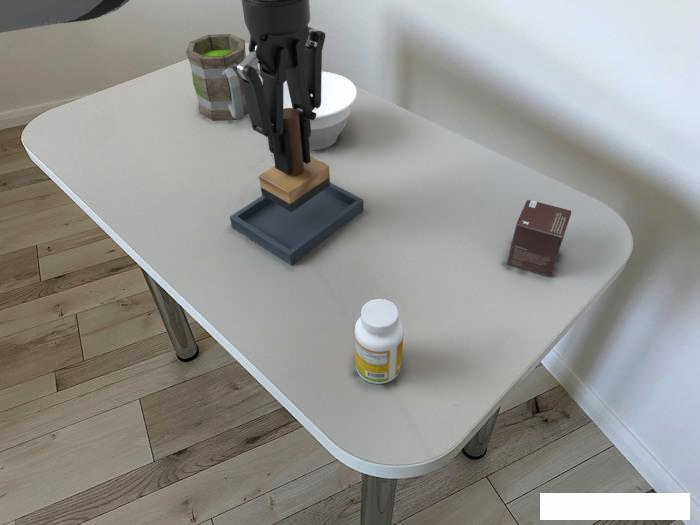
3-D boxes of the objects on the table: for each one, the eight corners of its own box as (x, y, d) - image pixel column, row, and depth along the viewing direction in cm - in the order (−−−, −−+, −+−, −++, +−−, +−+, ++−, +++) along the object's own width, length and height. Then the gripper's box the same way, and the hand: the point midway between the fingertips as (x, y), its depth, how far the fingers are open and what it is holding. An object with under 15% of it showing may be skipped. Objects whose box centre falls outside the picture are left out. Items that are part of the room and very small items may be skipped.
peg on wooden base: (291, 212, 79) (282, 134, 71) (261, 195, 82) (249, 118, 74) (330, 185, 84) (326, 108, 75) (300, 169, 87) (293, 94, 78)
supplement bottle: (383, 340, 70) (386, 286, 63) (410, 371, 67) (415, 317, 60) (346, 360, 68) (344, 306, 61) (372, 393, 65) (373, 340, 58)
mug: (192, 100, 113) (179, 40, 104) (245, 88, 116) (236, 29, 108) (214, 139, 103) (200, 76, 94) (271, 125, 106) (263, 63, 97)
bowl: (301, 105, 111) (298, 63, 105) (374, 127, 105) (374, 83, 99) (250, 145, 101) (243, 101, 95) (327, 172, 95) (324, 126, 89)
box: (549, 278, 77) (562, 238, 72) (505, 264, 79) (515, 224, 74) (559, 250, 81) (572, 210, 76) (517, 238, 83) (527, 197, 78)
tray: (291, 265, 80) (289, 254, 78) (231, 227, 86) (229, 216, 84) (363, 210, 88) (363, 199, 86) (304, 179, 94) (303, 168, 92)
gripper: (300, -38, 69) (312, 131, 86) (195, 1, 61) (231, 180, 78) (347, -25, 66) (350, 149, 82) (242, 19, 57) (270, 203, 74)
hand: (293, 164), depth 80 cm, fingers closed on peg on wooden base, 3 cm apart
